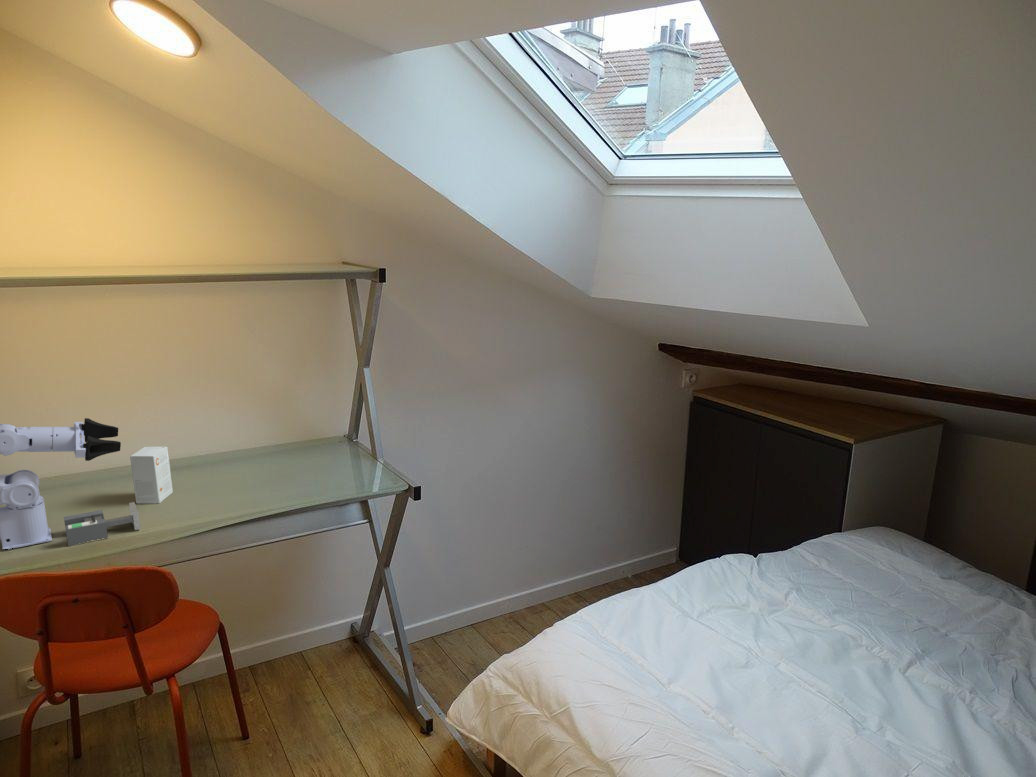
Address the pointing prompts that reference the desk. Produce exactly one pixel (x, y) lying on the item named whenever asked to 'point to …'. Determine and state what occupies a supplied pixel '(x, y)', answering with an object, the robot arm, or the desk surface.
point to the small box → (151, 474)
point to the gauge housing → (84, 528)
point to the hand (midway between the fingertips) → (119, 439)
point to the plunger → (121, 518)
